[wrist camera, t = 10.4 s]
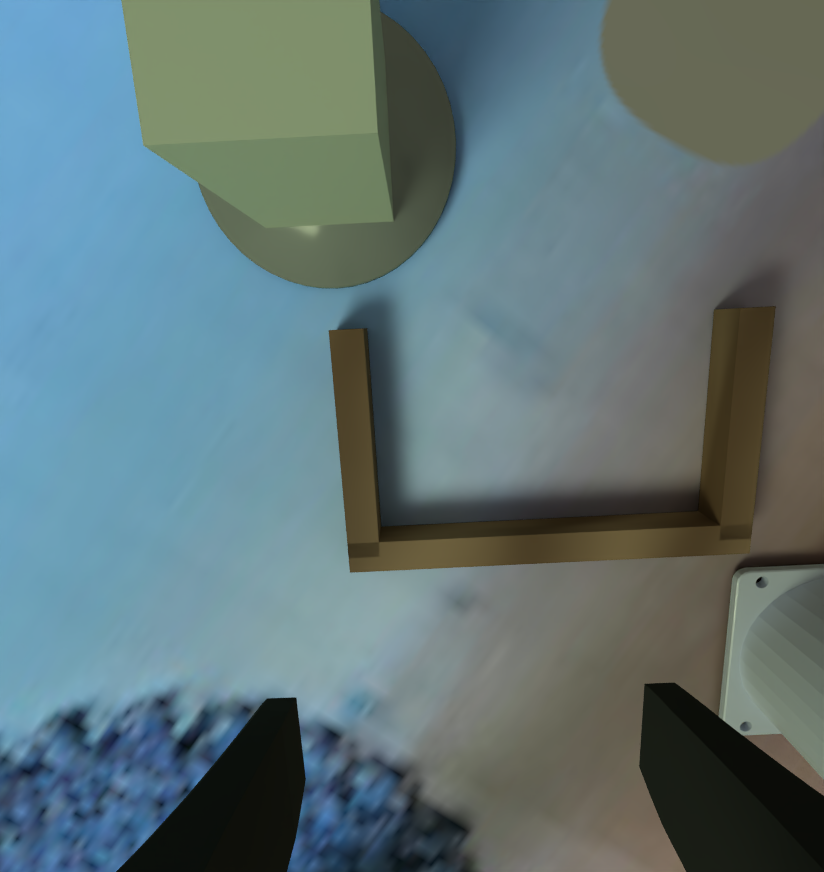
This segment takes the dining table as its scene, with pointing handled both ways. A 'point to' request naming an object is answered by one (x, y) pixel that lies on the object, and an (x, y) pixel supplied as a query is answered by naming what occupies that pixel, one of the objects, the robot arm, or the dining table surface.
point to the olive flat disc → (411, 187)
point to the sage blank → (268, 103)
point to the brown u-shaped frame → (574, 536)
